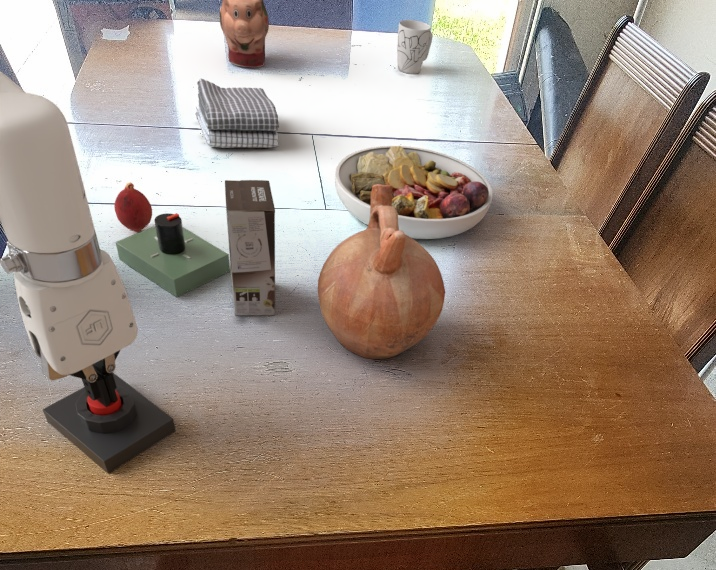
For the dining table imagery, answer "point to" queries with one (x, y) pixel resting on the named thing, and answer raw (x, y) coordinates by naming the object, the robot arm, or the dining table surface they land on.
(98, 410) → the button
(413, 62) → the mug
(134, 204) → the red oval fruit
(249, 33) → the pig figurine
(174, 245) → the dial
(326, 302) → the jug
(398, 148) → the bowl
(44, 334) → the robot arm
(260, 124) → the towel
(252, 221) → the coffee box
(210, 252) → the dial panel
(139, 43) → the dining table surface
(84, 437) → the button block
